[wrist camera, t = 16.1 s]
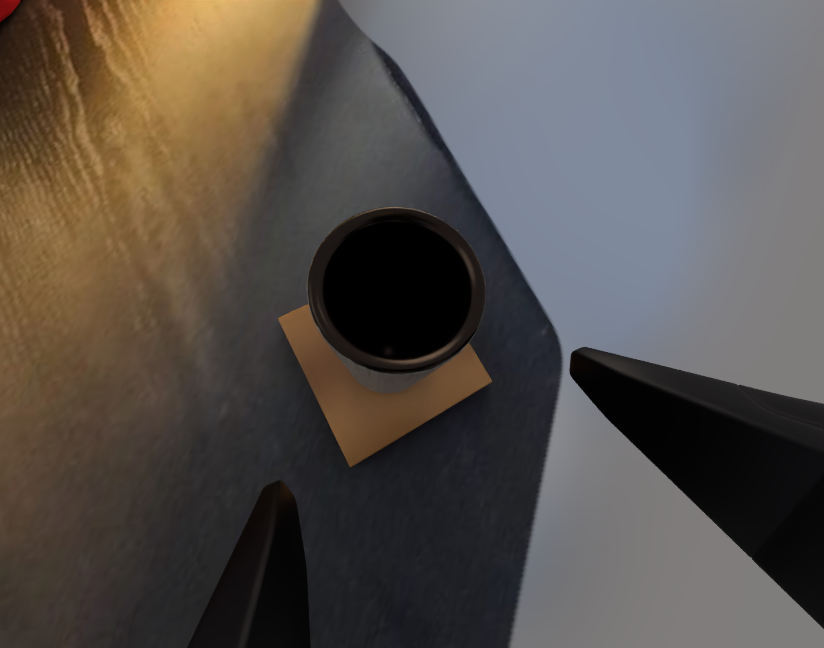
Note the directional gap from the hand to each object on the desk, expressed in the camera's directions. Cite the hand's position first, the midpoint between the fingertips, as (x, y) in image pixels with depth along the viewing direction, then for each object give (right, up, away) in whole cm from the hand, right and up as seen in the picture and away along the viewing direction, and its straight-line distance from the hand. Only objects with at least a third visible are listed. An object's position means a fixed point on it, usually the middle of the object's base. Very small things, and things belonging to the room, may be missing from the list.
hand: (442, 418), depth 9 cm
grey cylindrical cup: (-2, +1, +9) cm, 9 cm away
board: (-2, +1, +10) cm, 10 cm away
